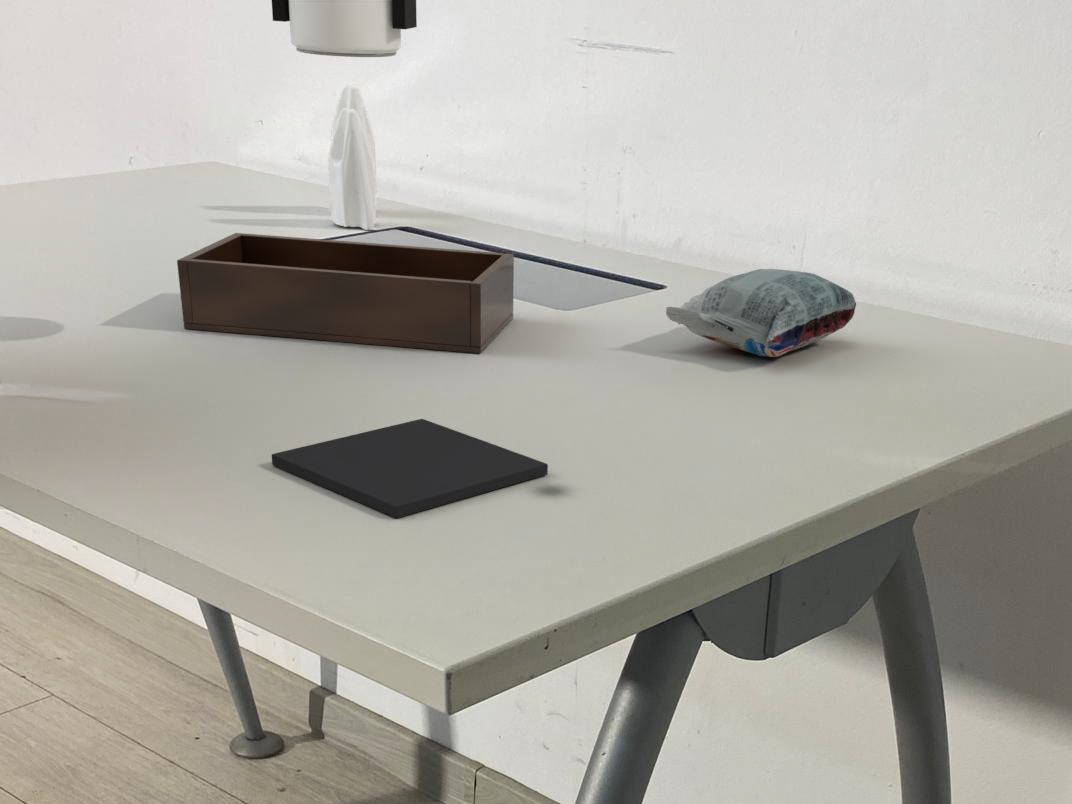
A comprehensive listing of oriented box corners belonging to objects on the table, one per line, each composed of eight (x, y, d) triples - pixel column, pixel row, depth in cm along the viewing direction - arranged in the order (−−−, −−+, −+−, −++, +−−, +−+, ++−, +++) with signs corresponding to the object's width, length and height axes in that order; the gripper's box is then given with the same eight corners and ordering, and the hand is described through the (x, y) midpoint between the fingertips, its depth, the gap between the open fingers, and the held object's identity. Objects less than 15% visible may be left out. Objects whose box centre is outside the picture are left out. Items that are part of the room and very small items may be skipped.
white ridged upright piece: (335, 206, 138) (328, 79, 133) (379, 207, 139) (374, 81, 133) (329, 229, 128) (321, 92, 122) (376, 230, 129) (371, 94, 123)
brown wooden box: (183, 328, 96) (176, 260, 94) (240, 296, 105) (235, 232, 102) (480, 353, 94) (480, 284, 91) (513, 318, 102) (514, 253, 100)
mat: (396, 519, 67) (395, 506, 67) (271, 465, 73) (270, 453, 73) (548, 475, 74) (548, 463, 73) (422, 428, 79) (422, 418, 79)
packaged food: (663, 349, 96) (669, 273, 94) (752, 320, 105) (760, 250, 102) (774, 375, 92) (784, 297, 90) (858, 344, 101) (869, 271, 98)
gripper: (527, -469, 75) (518, 31, 87) (169, -480, 76) (210, 11, 88) (499, -507, 68) (494, 38, 80) (110, -519, 70) (162, 16, 82)
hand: (345, 23), depth 84 cm, fingers closed on can, 6 cm apart
